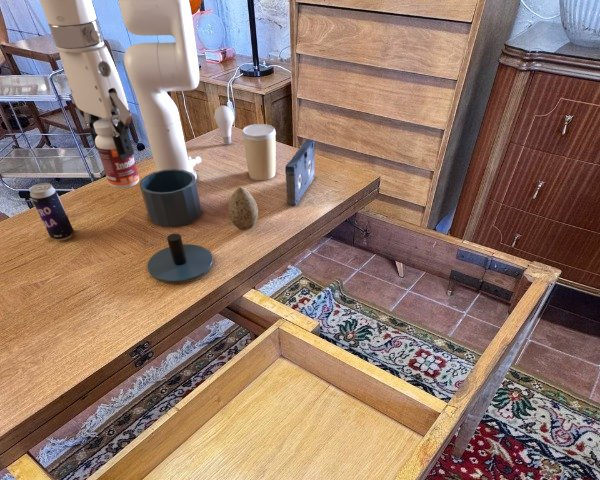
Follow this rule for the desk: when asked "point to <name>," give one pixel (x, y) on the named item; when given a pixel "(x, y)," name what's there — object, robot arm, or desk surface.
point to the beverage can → (51, 211)
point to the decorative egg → (243, 209)
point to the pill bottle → (114, 158)
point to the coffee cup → (260, 150)
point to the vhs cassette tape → (300, 172)
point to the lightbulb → (224, 122)
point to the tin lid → (179, 261)
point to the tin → (171, 197)
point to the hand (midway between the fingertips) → (115, 151)
